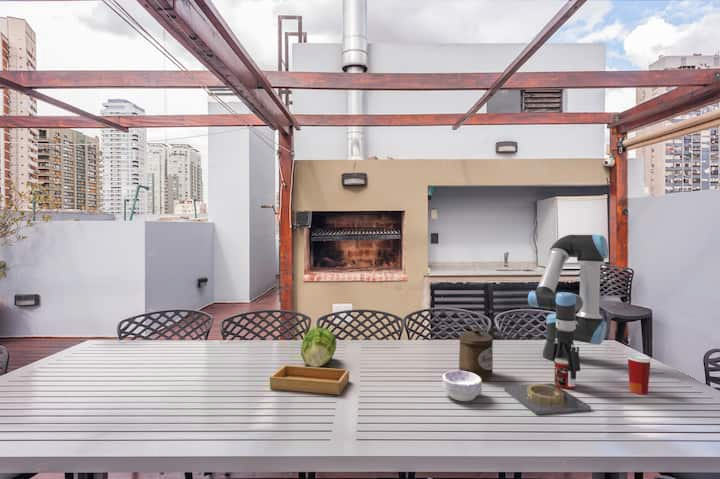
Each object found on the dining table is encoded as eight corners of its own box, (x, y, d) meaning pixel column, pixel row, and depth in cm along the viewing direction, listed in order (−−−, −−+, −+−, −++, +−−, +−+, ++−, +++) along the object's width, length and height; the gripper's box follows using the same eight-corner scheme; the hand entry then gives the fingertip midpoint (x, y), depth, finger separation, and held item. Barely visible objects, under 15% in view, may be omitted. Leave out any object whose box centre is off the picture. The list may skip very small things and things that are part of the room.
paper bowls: (460, 408, 143) (460, 387, 143) (434, 393, 156) (434, 373, 156) (490, 400, 150) (490, 380, 150) (463, 386, 164) (463, 367, 163)
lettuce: (291, 356, 178) (324, 334, 177) (294, 334, 200) (323, 314, 200) (313, 384, 182) (346, 362, 181) (314, 359, 204) (342, 340, 204)
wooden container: (488, 383, 166) (488, 333, 166) (454, 376, 174) (455, 328, 174) (495, 373, 179) (496, 326, 178) (464, 367, 187) (464, 322, 186)
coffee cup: (646, 389, 160) (647, 353, 160) (654, 397, 152) (654, 359, 152) (623, 386, 163) (623, 351, 163) (629, 394, 155) (630, 357, 155)
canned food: (550, 382, 167) (551, 357, 167) (568, 382, 168) (568, 357, 168) (561, 389, 159) (561, 363, 159) (579, 389, 160) (579, 363, 160)
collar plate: (504, 390, 159) (504, 381, 159) (552, 386, 163) (552, 378, 163) (536, 415, 138) (536, 405, 137) (590, 410, 141) (591, 401, 141)
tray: (269, 389, 161) (269, 376, 161) (284, 376, 176) (284, 364, 176) (339, 396, 154) (339, 382, 154) (349, 382, 169) (349, 369, 169)
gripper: (542, 323, 173) (541, 373, 173) (574, 335, 152) (573, 392, 153) (557, 323, 174) (556, 372, 174) (591, 335, 154) (590, 391, 154)
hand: (564, 382), depth 164 cm, fingers closed on canned food, 8 cm apart
